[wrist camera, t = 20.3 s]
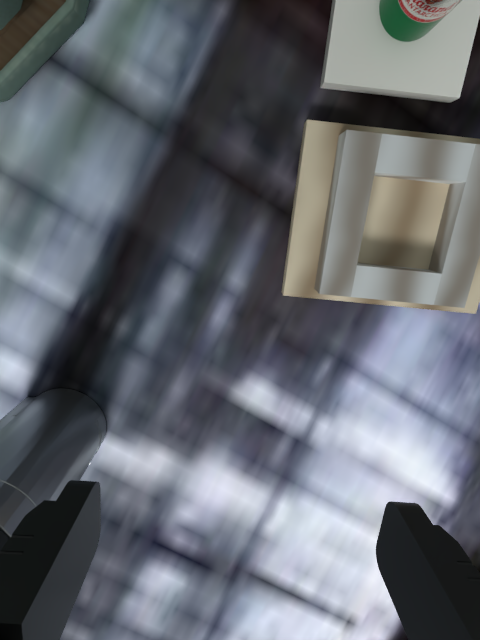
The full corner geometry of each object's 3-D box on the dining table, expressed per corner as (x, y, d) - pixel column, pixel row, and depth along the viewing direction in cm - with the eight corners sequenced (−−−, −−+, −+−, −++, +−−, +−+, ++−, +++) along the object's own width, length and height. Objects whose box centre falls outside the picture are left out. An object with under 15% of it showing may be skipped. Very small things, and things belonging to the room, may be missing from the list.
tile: (320, 87, 32) (323, 82, 31) (344, -82, 29) (349, -97, 28) (450, 102, 33) (459, 97, 31) (489, -63, 29) (501, -77, 28)
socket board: (281, 292, 38) (286, 301, 34) (304, 123, 33) (312, 112, 29) (466, 310, 38) (491, 320, 35) (514, 146, 34) (549, 138, 30)
